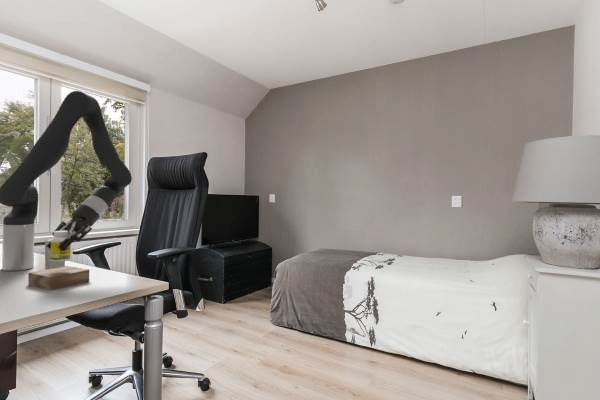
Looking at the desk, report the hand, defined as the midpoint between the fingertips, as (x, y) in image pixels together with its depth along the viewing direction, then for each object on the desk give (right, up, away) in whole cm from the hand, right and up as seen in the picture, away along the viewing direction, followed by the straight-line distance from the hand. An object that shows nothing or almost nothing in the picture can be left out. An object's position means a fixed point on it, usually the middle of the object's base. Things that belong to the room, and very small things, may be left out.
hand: (55, 248), depth 109 cm
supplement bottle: (+1, -4, +2) cm, 5 cm away
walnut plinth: (0, -12, +2) cm, 12 cm away
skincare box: (-11, -11, +15) cm, 22 cm away
